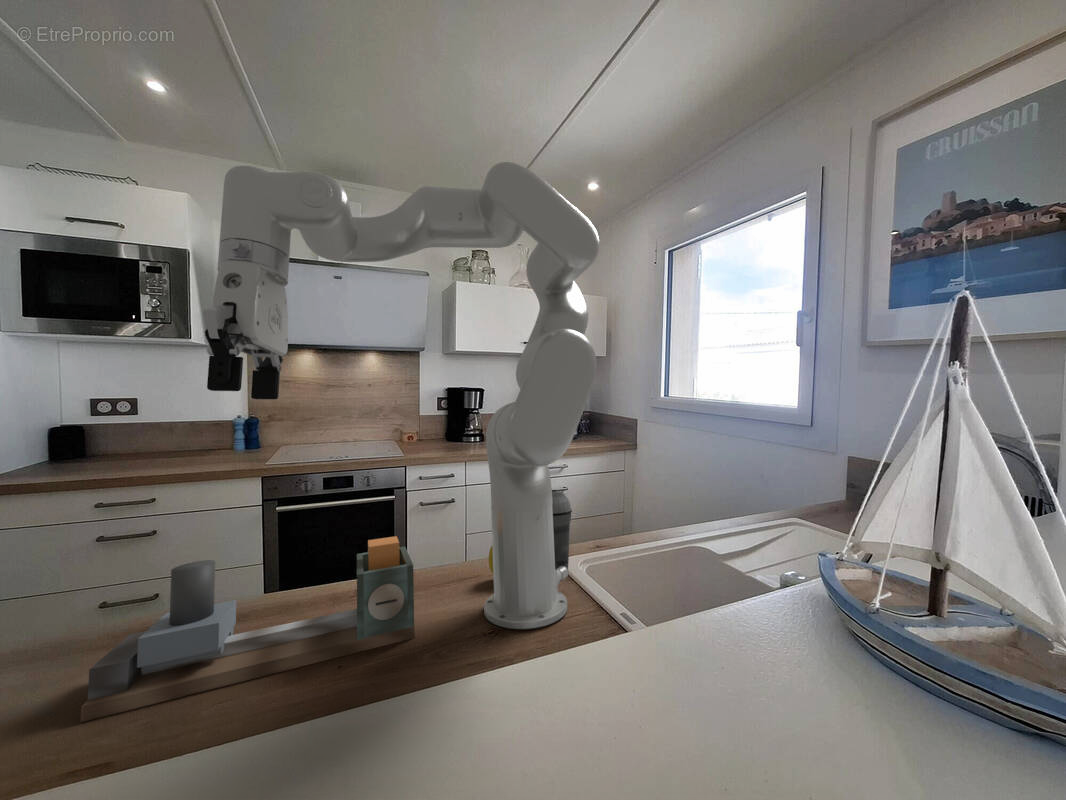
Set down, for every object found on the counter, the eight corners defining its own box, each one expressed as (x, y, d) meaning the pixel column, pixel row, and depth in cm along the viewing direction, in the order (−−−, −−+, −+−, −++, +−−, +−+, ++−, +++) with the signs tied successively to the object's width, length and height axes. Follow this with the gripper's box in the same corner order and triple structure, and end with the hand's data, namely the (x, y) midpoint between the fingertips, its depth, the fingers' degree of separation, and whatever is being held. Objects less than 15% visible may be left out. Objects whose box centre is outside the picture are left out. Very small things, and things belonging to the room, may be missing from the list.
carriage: (235, 631, 50) (237, 553, 51) (218, 659, 44) (220, 569, 45) (165, 645, 47) (169, 562, 48) (136, 677, 41) (140, 581, 42)
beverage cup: (578, 579, 69) (573, 467, 71) (538, 582, 69) (533, 469, 71) (571, 565, 77) (566, 464, 78) (535, 568, 76) (530, 466, 78)
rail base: (405, 608, 60) (405, 546, 61) (414, 639, 51) (413, 565, 52) (133, 668, 47) (137, 588, 48) (77, 725, 38) (83, 624, 39)
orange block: (396, 563, 58) (396, 536, 58) (399, 571, 54) (399, 542, 55) (368, 568, 56) (368, 540, 56) (368, 577, 53) (368, 547, 53)
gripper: (253, 235, 43) (243, 387, 41) (309, 292, 60) (304, 401, 58) (175, 229, 41) (161, 385, 40) (255, 289, 58) (248, 401, 57)
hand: (246, 395), depth 49 cm, fingers open, 9 cm apart
